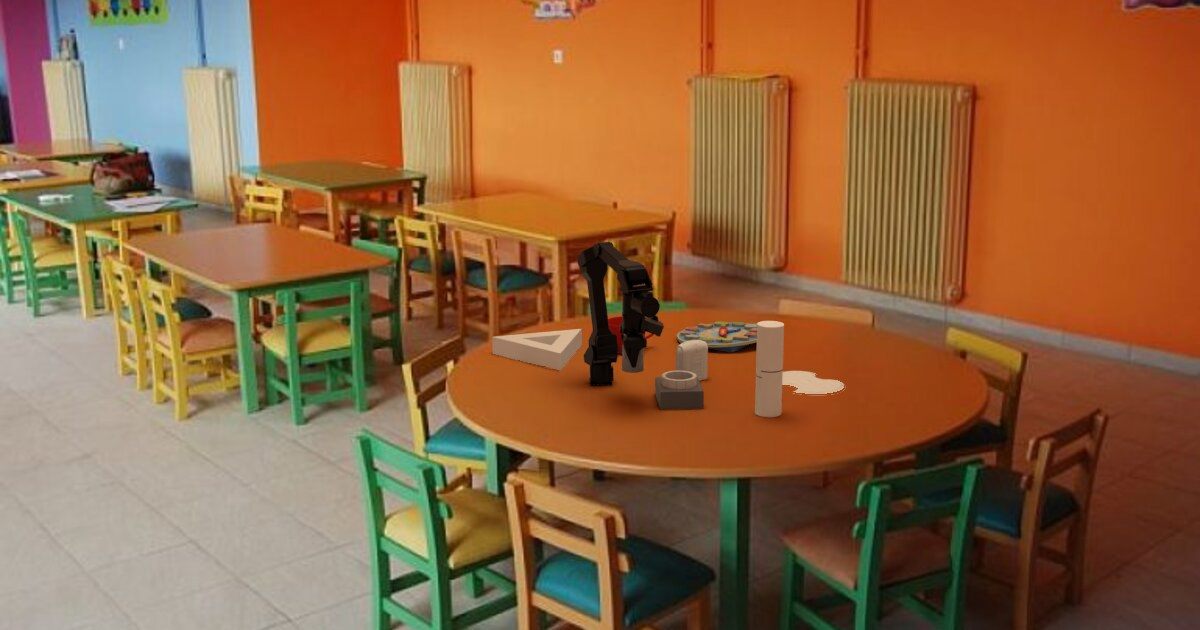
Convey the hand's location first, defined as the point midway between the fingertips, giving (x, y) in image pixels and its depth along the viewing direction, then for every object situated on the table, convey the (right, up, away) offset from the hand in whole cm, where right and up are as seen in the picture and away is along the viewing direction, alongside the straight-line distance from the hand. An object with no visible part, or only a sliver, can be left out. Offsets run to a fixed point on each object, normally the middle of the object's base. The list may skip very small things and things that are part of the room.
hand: (632, 364), depth 335 cm
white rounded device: (+18, -6, +22) cm, 29 cm away
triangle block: (-25, -1, +44) cm, 51 cm away
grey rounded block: (0, -2, 0) cm, 2 cm away
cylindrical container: (+37, -13, -7) cm, 40 cm away
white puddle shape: (+51, -7, +19) cm, 55 cm away
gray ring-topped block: (+13, -10, +3) cm, 17 cm away
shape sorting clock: (+32, +4, +65) cm, 72 cm away
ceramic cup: (+1, +2, +54) cm, 54 cm away
